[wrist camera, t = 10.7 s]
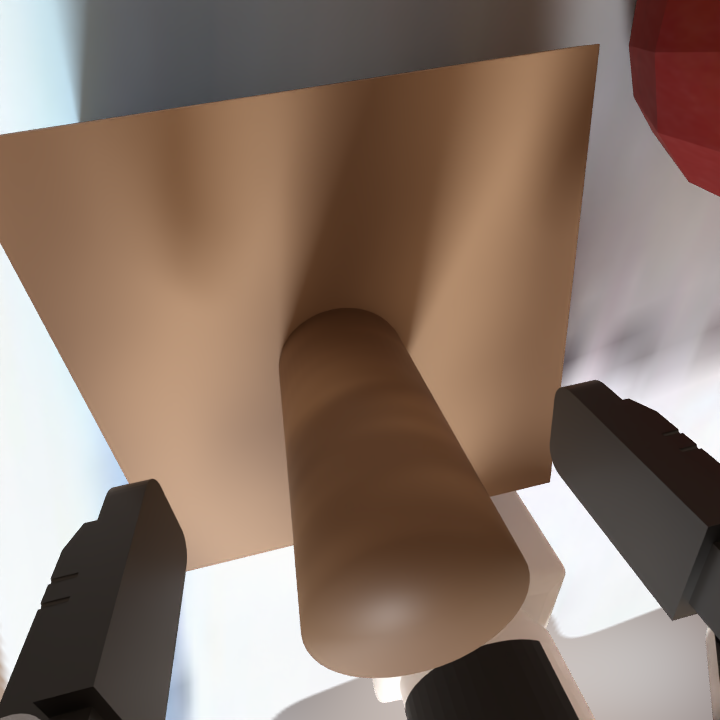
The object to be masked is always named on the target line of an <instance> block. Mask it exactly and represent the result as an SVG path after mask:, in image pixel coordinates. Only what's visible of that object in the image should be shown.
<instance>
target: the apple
mask: <svg viewBox="0 0 720 720" xmlns="http://www.w3.org/2000/svg"><path fill="white" fill-rule="evenodd" d="M629 52H630V63H631V73H632V84H633V95H634V98H635V100H636V102H637V104H638V105H639V107H640V109H641V111H642V113H643V115H644V117H645V119H646V120H647V122H648V124H649V126H650V128H651V130H652V132H653V133H654V134H655V136H656V137H657V139H658V140H659V141H660V143H661V144H662V145H663V147H664V148H665V150H666V151H667V152H668V154H669V155H670V157H671V158H672V159H673V161H674V162H675V163H676V165H677V166H678V168H679V169H680V170H681V172H682V173H683V175H684V176H685V177H686V179H687V180H688V182H690V183H692V184H695V185H697V186H699V187H701V188H703V189H705V190H707V191H709V192H711V193H713V194H715V195H717V196H719V197H720V0H637V2H636V8H635V13H634V19H633V25H632V31H631V36H630V42H629Z"/></svg>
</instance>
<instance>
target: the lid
mask: <svg viewBox="0 0 720 720" xmlns="http://www.w3.org/2000/svg"><path fill="white" fill-rule="evenodd" d="M599 46H600V44H594V45H585V46H576V47H569V48H563V49H556V50H550V51H543V52H537V53H530V54H524V55H517V56H511V57H504V58H498V59H491V60H485V61H478V62H472V63H465V64H459V65H452V66H445V67H439V68H432V69H426V70H419V71H413V72H406V73H400V74H393V75H387V76H380V77H374V78H367V79H361V80H354V81H348V82H341V83H335V84H328V85H321V86H315V87H308V88H302V89H295V90H289V91H282V92H276V93H269V94H263V95H256V96H250V97H243V98H237V99H230V100H224V101H217V102H211V103H204V104H197V105H191V106H184V107H178V108H171V109H165V110H158V111H152V112H145V113H139V114H132V115H126V116H119V117H113V118H106V119H100V120H93V121H87V122H80V123H73V124H67V125H60V126H54V127H47V128H41V129H34V130H28V131H21V132H15V133H8V134H2V135H0V243H1V245H2V247H3V249H4V251H5V253H6V254H7V256H8V258H9V260H10V262H11V264H12V266H13V268H14V269H15V271H16V273H17V275H18V277H19V279H20V281H21V282H22V284H23V286H24V288H25V290H26V292H27V294H28V296H29V297H30V299H31V301H32V303H33V305H34V307H35V309H36V311H37V312H38V314H39V316H40V318H41V320H42V322H43V324H44V325H45V327H46V329H47V331H48V333H49V335H50V337H51V339H52V340H53V342H54V344H55V346H56V348H57V350H58V352H59V354H60V355H61V357H62V359H63V361H64V363H65V365H66V367H67V368H68V370H69V372H70V374H71V376H72V378H73V380H74V382H75V383H76V385H77V387H78V389H79V391H80V393H81V395H82V397H83V398H84V400H85V402H86V404H87V406H88V408H89V410H90V411H91V413H92V415H93V417H94V419H95V421H96V423H97V425H98V426H99V428H100V430H101V432H102V434H103V436H104V438H105V440H106V441H107V443H108V445H109V447H110V449H111V451H112V453H113V454H114V456H115V458H116V460H117V462H118V464H119V466H120V468H121V469H122V471H123V473H124V475H125V477H126V479H127V481H128V482H129V484H131V483H135V482H140V481H144V480H149V479H155V480H157V481H158V483H159V484H160V486H161V488H162V490H163V492H164V494H165V496H166V498H167V500H168V502H169V504H170V506H171V508H172V510H173V512H174V514H175V516H176V518H177V520H178V522H179V524H180V527H181V529H182V531H183V534H184V537H185V541H186V548H187V566H186V571H190V570H194V569H198V568H202V567H206V566H210V565H215V564H219V563H223V562H227V561H231V560H235V559H239V558H243V557H247V556H251V555H255V554H259V553H263V552H267V551H272V550H276V549H280V548H284V547H288V546H292V545H294V555H295V567H296V579H297V590H298V602H299V614H300V626H301V635H302V640H303V643H304V645H305V647H306V649H307V651H308V652H309V654H310V655H311V656H312V657H313V658H314V659H315V660H316V661H317V662H318V663H320V664H321V665H323V666H325V667H326V668H328V669H330V670H333V671H335V672H338V673H341V674H345V675H349V676H355V677H362V678H390V677H400V676H406V675H411V674H416V673H420V672H424V671H428V670H431V669H434V668H437V667H440V666H443V665H445V664H448V663H450V662H453V661H455V660H457V659H459V658H461V657H463V656H465V655H467V654H469V653H471V652H473V651H474V650H476V649H478V648H479V647H481V646H482V645H484V644H485V643H487V642H488V641H489V640H491V639H492V638H493V637H495V636H496V635H497V634H498V633H499V632H500V631H501V630H503V629H504V628H505V627H506V626H507V625H508V624H509V622H510V621H511V620H512V619H513V618H514V617H515V615H516V614H517V612H518V611H519V610H520V608H521V606H522V604H523V603H524V601H525V598H526V596H527V593H528V589H529V584H530V572H529V568H528V564H527V562H526V560H525V558H524V556H523V554H522V553H521V551H520V549H519V547H518V546H517V544H516V542H515V540H514V539H513V537H512V535H511V533H510V531H509V530H508V528H507V526H506V524H505V523H504V521H503V519H502V517H501V516H500V514H499V512H498V510H497V509H496V507H495V505H494V503H493V501H492V500H491V498H490V497H492V496H496V495H500V494H504V493H508V492H512V491H516V490H520V489H524V488H528V487H532V486H536V485H540V484H545V483H549V482H550V476H551V467H552V458H551V454H550V435H551V425H552V416H553V407H554V398H555V393H556V391H557V390H558V389H559V388H561V380H562V371H563V362H564V353H565V345H566V336H567V327H568V318H569V309H570V301H571V292H572V283H573V274H574V266H575V257H576V248H577V239H578V230H579V222H580V213H581V204H582V195H583V187H584V178H585V169H586V160H587V151H588V143H589V134H590V125H591V116H592V108H593V99H594V90H595V81H596V72H597V64H598V55H599Z"/></svg>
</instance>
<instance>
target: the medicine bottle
mask: <svg viewBox="0 0 720 720" xmlns="http://www.w3.org/2000/svg"><path fill="white" fill-rule="evenodd" d="M490 498H491V500H492V501H493V503H494V505H495V507H496V509H497V510H498V512H499V514H500V516H501V517H502V519H503V521H504V523H505V524H506V526H507V528H508V530H509V531H510V533H511V535H512V537H513V539H514V540H515V542H516V544H517V546H518V547H519V549H520V551H521V553H522V554H523V556H524V558H525V560H526V562H527V564H528V568H529V572H530V584H529V589H528V593H527V596H526V598H525V601H524V603H523V604H522V606H521V608H520V610H519V611H518V612H517V614H516V615H515V617H514V618H513V619H512V620H511V621H510V622H509V624H508V625H507V626H506V627H505V628H504V629H503V630H501V631H500V632H499V633H498V634H497V635H496V636H495V637H493V638H492V639H491V640H489V641H488V642H487V643H485V644H484V645H482V646H481V647H479V648H478V649H476V650H474V651H473V652H471V653H469V654H467V655H465V656H463V657H461V658H459V659H457V660H455V661H453V662H450V663H448V664H445V665H443V666H440V667H437V668H434V669H431V670H428V671H424V672H420V673H416V674H411V675H406V676H400V677H390V678H372V680H373V685H374V690H375V694H376V696H377V698H378V700H379V701H381V702H383V703H386V702H391V701H395V700H400V699H403V703H404V708H405V712H406V716H407V720H595V718H594V716H593V714H592V712H591V711H590V709H589V707H588V705H587V703H586V701H585V699H584V697H583V695H582V694H581V692H580V690H579V688H578V686H577V684H576V682H575V680H574V679H573V677H572V675H571V673H570V671H569V669H568V667H567V666H566V664H565V662H564V660H563V658H562V656H561V654H560V652H559V650H558V649H557V647H556V645H555V643H554V641H553V639H552V637H551V636H550V634H549V632H548V631H547V630H546V627H547V624H548V621H549V618H550V616H551V613H552V610H553V607H554V604H555V602H556V599H557V596H558V593H559V590H560V588H561V585H562V582H563V579H564V576H565V569H564V566H563V564H562V563H561V561H560V560H559V558H558V557H557V555H556V553H555V552H554V550H553V549H552V547H551V546H550V544H549V542H548V541H547V539H546V538H545V536H544V535H543V533H542V531H541V530H540V528H539V527H538V525H537V524H536V522H535V520H534V519H533V517H532V516H531V514H530V513H529V511H528V509H527V508H526V506H525V505H524V503H523V502H522V500H521V498H520V497H519V495H518V494H517V492H516V491H512V492H508V493H504V494H500V495H496V496H492V497H490Z"/></svg>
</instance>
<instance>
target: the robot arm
mask: <svg viewBox="0 0 720 720" xmlns="http://www.w3.org/2000/svg"><path fill="white" fill-rule="evenodd" d="M550 454H551V458H552V461H553V464H554V466H555V468H556V470H557V472H558V474H559V475H560V476H561V478H562V479H563V480H564V481H565V483H566V484H567V485H568V487H569V488H570V489H571V491H572V492H573V493H574V494H575V496H576V497H577V498H578V500H579V501H580V502H581V503H582V505H583V506H584V507H585V509H586V510H587V511H588V513H589V514H590V515H591V516H592V518H593V519H594V520H595V522H596V523H597V524H598V525H599V527H600V528H601V529H602V531H603V532H604V533H605V535H606V536H607V537H608V538H609V540H610V541H611V542H612V544H613V545H614V546H615V547H616V549H617V550H618V551H619V553H620V554H621V555H622V556H623V558H624V559H625V560H626V562H627V563H628V564H629V566H630V567H631V568H632V569H633V571H634V572H635V573H636V575H637V576H638V577H639V578H640V580H641V581H642V582H643V584H644V585H645V586H646V588H647V589H648V590H649V591H650V593H651V594H652V595H653V597H654V598H655V599H656V600H657V602H658V603H659V604H660V606H661V607H662V608H663V610H664V611H665V612H666V613H667V615H668V616H669V617H670V618H671V620H672V621H673V620H677V619H680V618H683V617H687V616H691V615H694V614H698V615H699V616H700V617H701V618H702V619H703V621H704V622H705V623H706V624H707V625H708V629H707V632H706V649H707V660H708V670H709V682H710V692H711V703H712V713H713V720H720V463H719V462H717V461H716V460H715V459H714V458H713V457H711V456H710V455H709V454H708V453H707V452H705V451H704V450H703V449H702V448H701V449H698V448H697V444H696V443H694V442H693V441H692V440H691V439H690V438H688V437H687V436H686V435H685V434H683V433H681V434H680V433H679V431H678V429H677V428H676V427H675V426H674V425H673V424H671V423H670V422H669V421H668V420H666V419H665V418H664V417H663V416H662V415H660V414H659V413H658V412H657V411H655V410H652V409H650V408H648V407H646V406H644V405H642V404H639V403H637V402H635V401H633V400H631V399H624V400H622V399H621V398H620V397H619V396H617V395H616V394H615V393H614V392H613V391H612V390H610V389H609V388H608V387H607V386H606V385H605V384H603V383H602V382H600V381H598V380H592V381H588V382H583V383H579V384H575V385H570V386H566V387H561V388H559V389H558V390H557V391H556V393H555V398H554V407H553V416H552V425H551V435H550ZM186 566H187V548H186V541H185V537H184V534H183V531H182V529H181V527H180V524H179V522H178V520H177V518H176V516H175V514H174V512H173V510H172V508H171V506H170V504H169V502H168V500H167V498H166V496H165V494H164V492H163V490H162V488H161V486H160V484H159V483H158V481H157V480H155V479H149V480H144V481H140V482H135V483H131V484H126V485H122V486H118V487H113V488H111V489H110V490H109V491H108V493H107V495H106V497H105V500H104V503H103V506H102V508H101V511H100V514H99V517H98V520H96V521H92V522H87V523H84V524H83V525H82V526H81V528H80V529H79V530H78V531H77V533H76V534H75V535H74V536H73V538H72V539H71V540H70V541H69V543H68V544H67V545H66V546H65V547H64V549H63V550H62V552H61V555H60V557H59V560H58V562H57V564H56V567H55V569H54V572H53V574H52V577H51V584H49V585H48V586H47V589H46V591H45V594H44V596H43V599H42V601H41V609H39V610H38V611H37V613H36V616H35V618H34V621H33V623H32V626H31V628H30V631H29V633H28V635H27V638H26V640H25V643H24V645H23V648H22V650H21V653H20V655H19V658H18V660H17V662H16V665H15V667H14V670H13V672H12V675H11V677H10V680H9V682H8V684H7V687H6V689H5V692H4V694H3V697H2V699H1V702H0V720H165V717H166V710H167V703H168V695H169V688H170V681H171V674H172V667H173V660H174V652H175V645H176V638H177V631H178V624H179V616H180V609H181V602H182V595H183V588H184V581H185V573H186Z"/></svg>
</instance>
